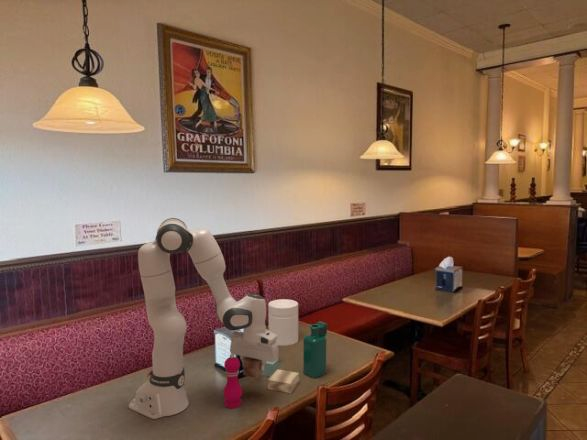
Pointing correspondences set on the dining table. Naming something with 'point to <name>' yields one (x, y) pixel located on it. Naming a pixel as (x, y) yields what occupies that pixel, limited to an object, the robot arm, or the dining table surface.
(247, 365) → the walnut block
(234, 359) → the pepper mill
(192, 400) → the dining table surface
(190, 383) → the dining table surface
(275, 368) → the teal block
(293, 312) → the canister
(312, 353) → the green water bottle
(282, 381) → the maple base
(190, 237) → the robot arm
